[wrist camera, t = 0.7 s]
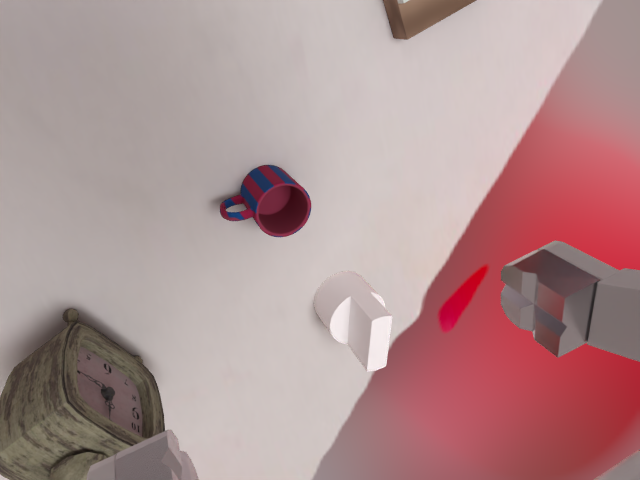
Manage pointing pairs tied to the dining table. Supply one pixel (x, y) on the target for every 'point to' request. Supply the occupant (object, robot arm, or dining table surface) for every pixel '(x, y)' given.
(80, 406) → the tabletop clock
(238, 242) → the dining table surface
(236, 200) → the mug
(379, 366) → the cylinder with rectangular tab
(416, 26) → the housing
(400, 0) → the cover
